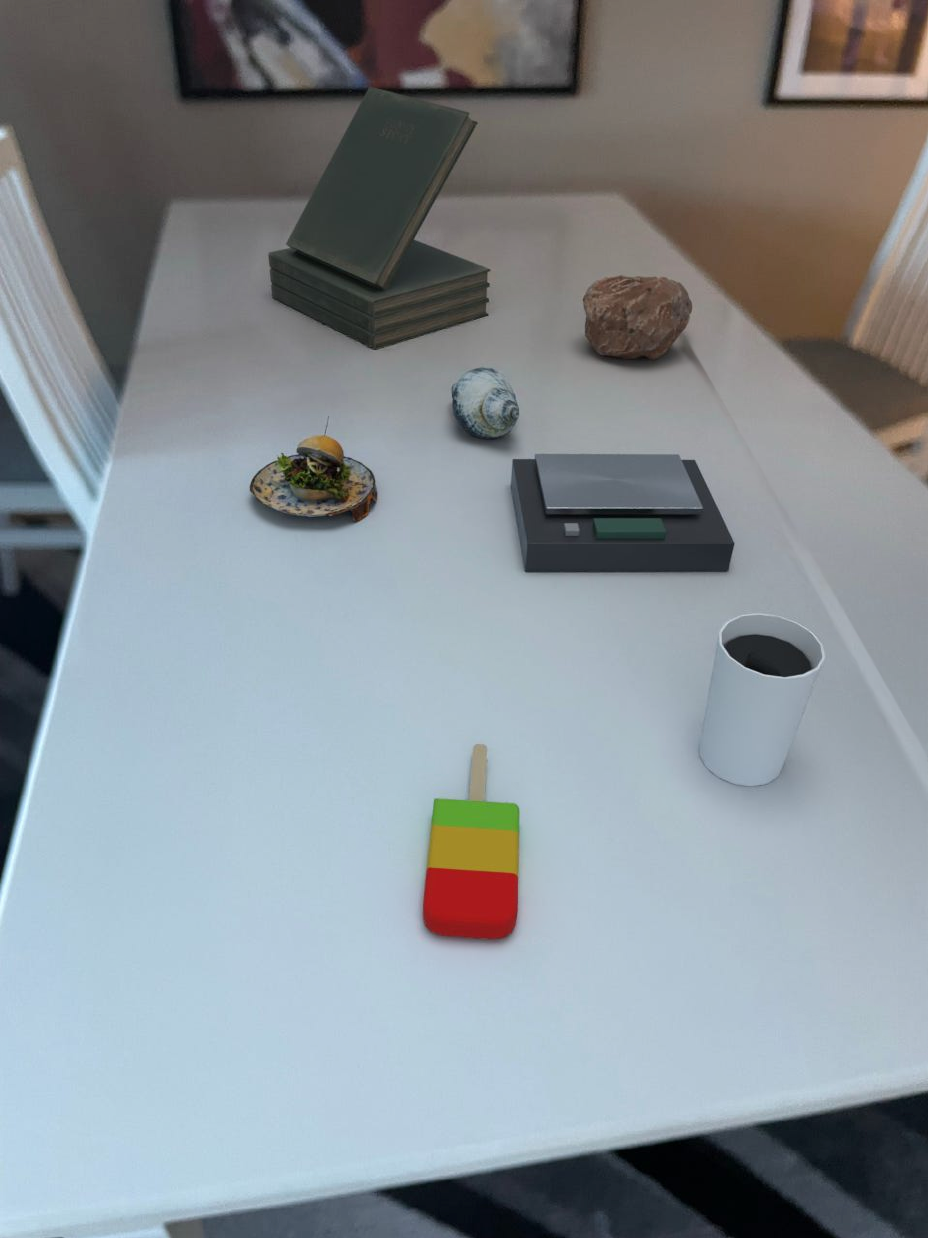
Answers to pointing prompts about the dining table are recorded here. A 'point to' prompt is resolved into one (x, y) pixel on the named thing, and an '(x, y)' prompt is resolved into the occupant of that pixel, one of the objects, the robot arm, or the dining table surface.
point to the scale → (618, 534)
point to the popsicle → (473, 863)
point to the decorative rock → (635, 315)
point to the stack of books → (382, 229)
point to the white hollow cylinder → (757, 696)
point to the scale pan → (616, 484)
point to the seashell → (485, 403)
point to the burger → (316, 481)
